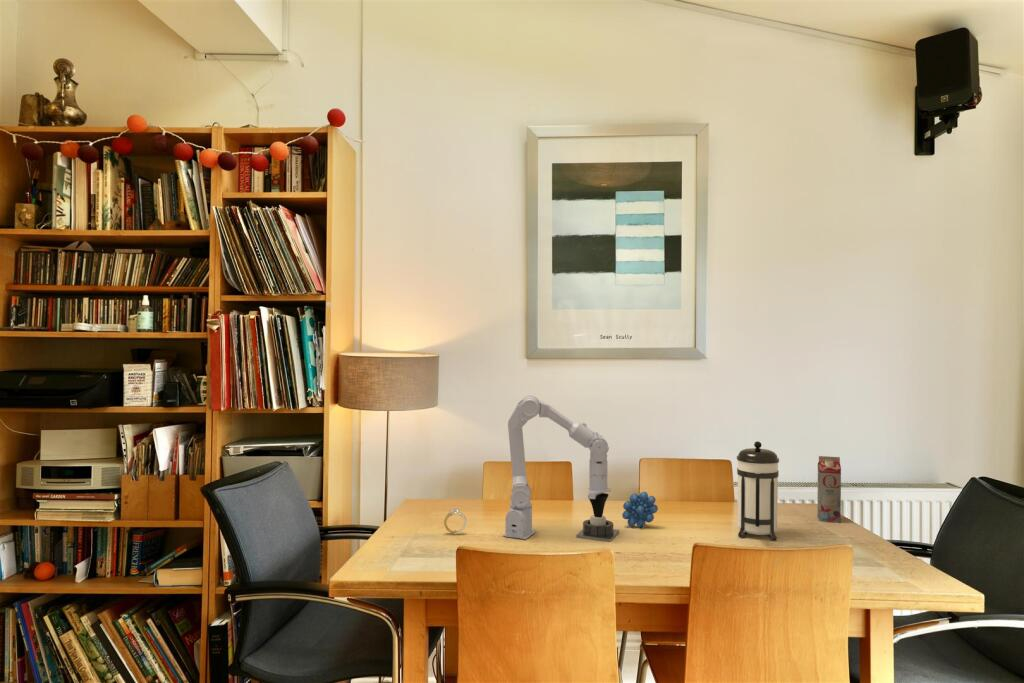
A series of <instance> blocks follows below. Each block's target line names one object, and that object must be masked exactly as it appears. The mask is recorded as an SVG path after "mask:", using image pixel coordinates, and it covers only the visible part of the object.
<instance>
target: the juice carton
mask: <svg viewBox="0 0 1024 683" xmlns="http://www.w3.org/2000/svg"><path fill="white" fill-rule="evenodd" d="M841 493H842V467H841V458H840V456H828V455H827V456H824V455H818V462H817V496H816V498H817V503H816V504H817V506H816V507H817V510H816V511H817V513H816V514H817V516H816V517H817V518H818V519H817V520H818V522H824V523H836V524H837V523H838V524H841V523H842V521H841V518H842V516H841V515H842V514H841V513H842V512H841V510H842V507H841V506H842V501H841V500H842V496H841V495H842V494H841Z"/></svg>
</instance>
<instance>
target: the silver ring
mask: <svg viewBox="0 0 1024 683" xmlns="http://www.w3.org/2000/svg"><path fill="white" fill-rule="evenodd" d="M460 511H461V510H460V509H458V510H457V508H453V509H450V510H449V511H448V513H447V514H446V516H444V517H445V518H444V520H443V526H444V528H445V529H446V531H448V533H450V534H453V535H457V534H461V533H462V532H463V531H464V530H465V528H466V526H467V517H466V516H465V515H464V514H463V512H460ZM453 515H459V516H460V517H461V518H462V519H463V527H462V528H460V529H459V530H452V529H450V528H449V527H448V524H447V522H448V521H447V520H448V519H449V518H450V517H452V516H453Z"/></svg>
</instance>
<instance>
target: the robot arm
mask: <svg viewBox="0 0 1024 683" xmlns="http://www.w3.org/2000/svg"><path fill="white" fill-rule="evenodd" d="M513 410H514V411H512V414H511V415H510V417H509V419H508V422H507V428H508V429H507V431H508V441H509V454H510V464H511V474H512V475H511V476H512V477H511V478H512V479H511V480H512V488H511V494H510V501H511V502H510V503H509V511H507V513H506V516H505V533H503V534H502V537H506V538H513V539H521V540H527V539H528V538H529V537H531V536H532V535H534V534H536V533H537V529H533V504H532V503H531V495H532V490H531V487H530V485H529V483H528V477H527V470H526V458H525V457H526V456H525V446H524V445H525V443H524V434H523V427H524V426H525V425H526V424H527V423H528V422H529V421H530V420H532V419H533V418H535V417H537V416H538V417H539V418H548V419H550V420H551V421H553V422H555V423H556V424H557V425H559V426H560V427H562V428H564V429H565V430H566V431H567V432H568V435H569V438H571V439H572V440H574V442H577V444H579V445H581V446H582V447H584V448H586V449H588V450H589V451H590V453H589V456H590V457H589V460H588V461H589V470H588V471H589V472H588V473H589V476H588V477H589V482H588V483H589V484H588V485H589V486H588V495H587V497H588V500H589V501H590V504H591V508H592V513H593V515H594V516H595V517H600V518H601V517H602V515H603V514H604V511H605V510H604V509H605V505H606V503H607V499H608V498H609V492H611V491H612V489H611V488H609V487H608V485H609V484H608V452H609V448H610V447H609V444H608V442H607V440H606V439H605V437H603V435H600V434H599V432H597V431H596V432H595V431H593V430H592V429H591V428H589V427H588V424H587V423H585V422H580V421H578V422H577V421H575V422H573V421H572V420H571V419H569V418H568V417H566V415H564V414H563V413H561V412H560V411H558V409H556V408H555V407H554V406H552V405H551V404H549V403H547V402H545V401H543V400H541V399H538V398H537V397H536V396H533V395H527V396H525V397H523V398H522V399H521V400H520V401H519V402H518V403H517V405H516V406H515V408H514V409H513ZM603 516H604V515H603Z"/></svg>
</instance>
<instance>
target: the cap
mask: <svg viewBox="0 0 1024 683" xmlns="http://www.w3.org/2000/svg"><path fill="white" fill-rule="evenodd" d="M589 520H590V525H594V526H605V525H606V520H607V518H606V516H605V515H602V517H601V518H600V517H595V516H594V514H593V515H591V516H590V517H589Z"/></svg>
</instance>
